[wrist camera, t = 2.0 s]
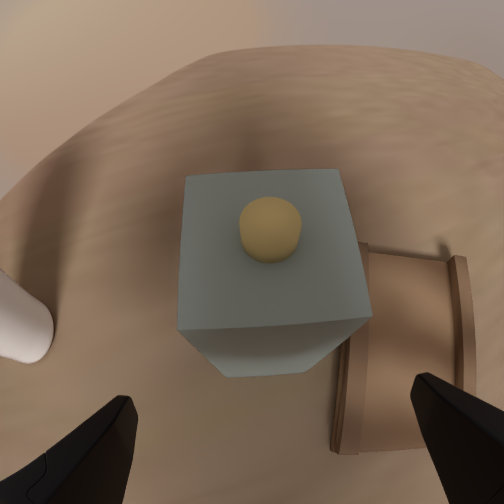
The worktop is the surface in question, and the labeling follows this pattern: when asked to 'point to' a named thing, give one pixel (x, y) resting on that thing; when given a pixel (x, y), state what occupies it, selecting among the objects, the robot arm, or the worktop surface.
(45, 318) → the white cylinder
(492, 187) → the worktop surface
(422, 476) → the worktop surface
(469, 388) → the walnut trough
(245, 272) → the block
